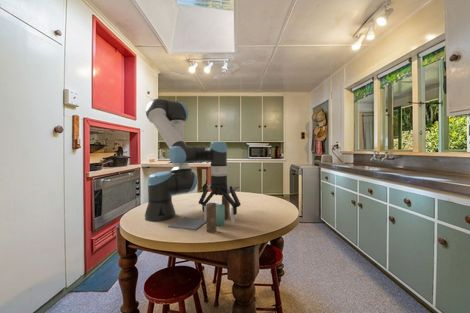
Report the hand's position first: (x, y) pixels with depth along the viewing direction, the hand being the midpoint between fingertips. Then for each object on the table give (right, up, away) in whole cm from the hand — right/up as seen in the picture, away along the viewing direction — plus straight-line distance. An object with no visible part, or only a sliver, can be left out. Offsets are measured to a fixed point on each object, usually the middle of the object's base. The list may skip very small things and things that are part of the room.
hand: (219, 220), depth 104 cm
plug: (0, -2, 0) cm, 2 cm away
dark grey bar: (+5, +11, +17) cm, 21 cm away
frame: (0, -2, 0) cm, 2 cm away
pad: (-14, -2, +2) cm, 15 cm away
